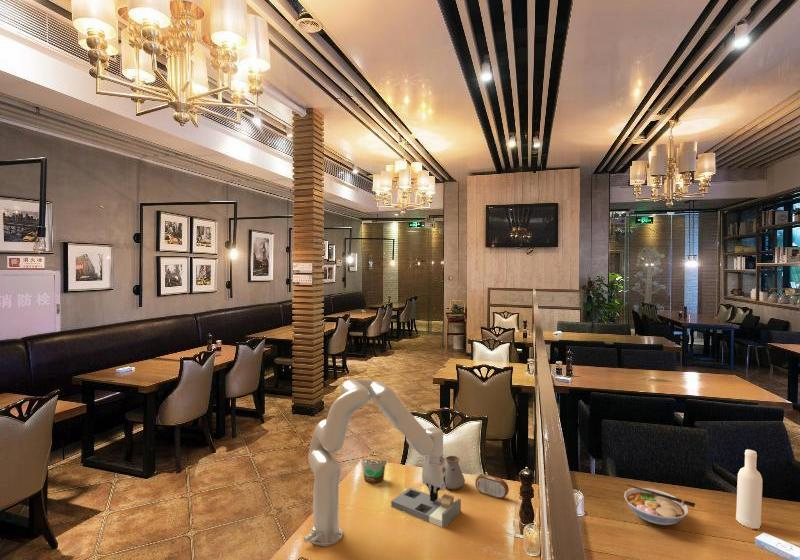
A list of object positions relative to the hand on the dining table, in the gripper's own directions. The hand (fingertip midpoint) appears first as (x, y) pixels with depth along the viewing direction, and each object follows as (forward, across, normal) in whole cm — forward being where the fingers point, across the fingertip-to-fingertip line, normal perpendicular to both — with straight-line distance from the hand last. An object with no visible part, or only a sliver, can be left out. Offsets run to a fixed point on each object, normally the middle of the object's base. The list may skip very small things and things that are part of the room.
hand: (433, 500), depth 188 cm
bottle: (+4, -108, -66) cm, 126 cm away
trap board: (+3, +2, +3) cm, 5 cm away
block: (+1, -6, -1) cm, 6 cm away
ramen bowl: (+4, -77, -47) cm, 90 cm away
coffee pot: (+4, 0, -17) cm, 17 cm away
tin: (+4, -15, -24) cm, 29 cm away
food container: (+4, +35, -2) cm, 36 cm away
